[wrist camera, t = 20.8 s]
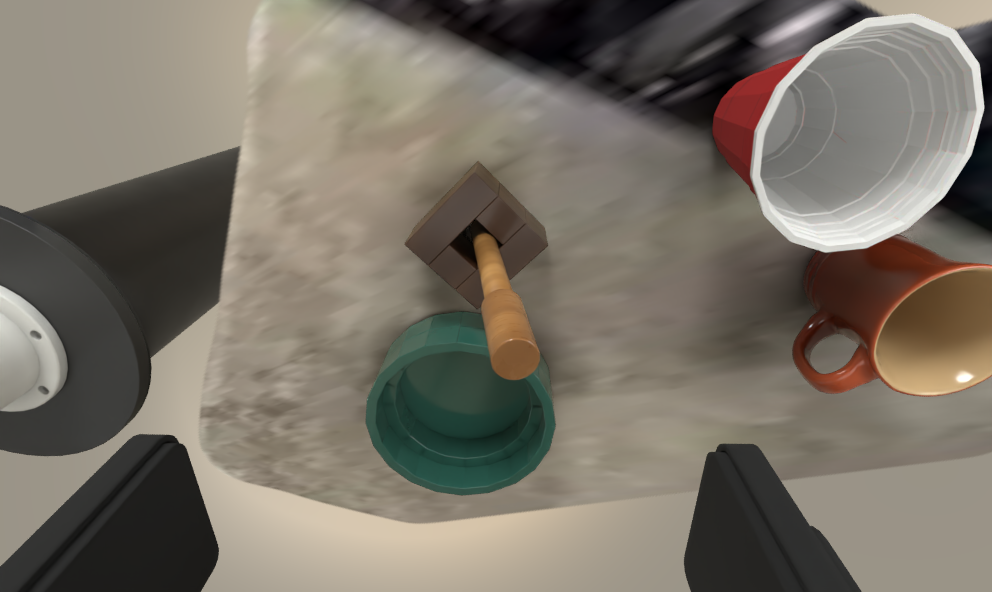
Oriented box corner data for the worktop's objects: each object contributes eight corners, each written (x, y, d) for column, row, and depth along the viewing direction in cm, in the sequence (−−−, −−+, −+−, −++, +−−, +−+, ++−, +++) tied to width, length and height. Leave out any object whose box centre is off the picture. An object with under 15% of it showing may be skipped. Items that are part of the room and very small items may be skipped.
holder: (414, 227, 38) (403, 244, 35) (478, 160, 36) (474, 171, 32) (480, 287, 40) (477, 309, 37) (545, 228, 38) (548, 245, 34)
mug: (878, 189, 36) (1004, 233, 27) (927, 275, 39) (1058, 343, 29) (728, 288, 40) (794, 358, 30) (782, 361, 42) (858, 446, 33)
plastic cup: (843, 173, 36) (988, 222, 25) (688, 215, 37) (761, 278, 26) (840, 4, 31) (1014, -27, 21) (665, 59, 33) (741, 58, 22)
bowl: (348, 382, 44) (327, 422, 39) (462, 274, 40) (455, 304, 35) (469, 473, 48) (464, 521, 43) (584, 385, 44) (594, 427, 39)
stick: (459, 226, 38) (480, 362, 22) (480, 206, 37) (516, 329, 22) (480, 245, 39) (515, 389, 23) (500, 225, 38) (550, 358, 22)
